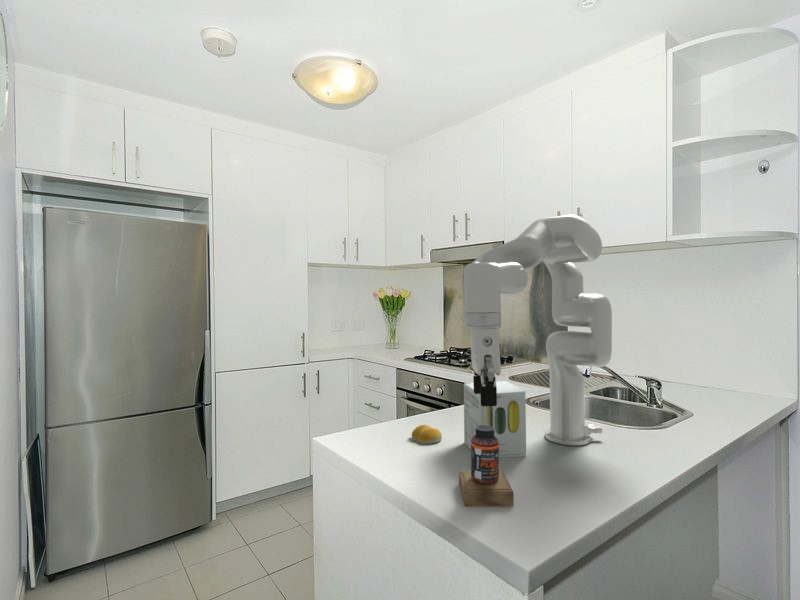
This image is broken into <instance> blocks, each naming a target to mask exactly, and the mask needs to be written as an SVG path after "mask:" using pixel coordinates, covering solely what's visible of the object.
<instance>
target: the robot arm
mask: <svg viewBox="0 0 800 600" xmlns="http://www.w3.org/2000/svg"><path fill="white" fill-rule="evenodd" d="M602 250H603V242H602V239H601V237H600V234H599V233H598V231H596V229H595V228H593V226H592V225H591V224H589V223H588V222H587V221H586V220H585V219H583V218H582V217H580V216H578V215H575V214H567V215H559V216H550V217H543V218H542V217H541V218H540V219H539V218H538V219H536V220H534V221H533V222H532V223H530V225H529V226H528V227H527V228H526V229H525V230H523V232H521V233H520V234H519V235H518V236H517V237H516V238H514V239H513V240H509V241H507V242H505V243H503V244H501V245H498V246H497V247H494V248H492V249H488V251H485V252H484V253H482V254H480V256H478V257H476V258H475V259H474V260H473V261H472V262H471V263H467V265H466V266H465V267H464V271H463V272H464V273H463V277H464V279H463V281H464V317H465V319H464V320H465V321H464V322H465V326H464V327H465V328H466V329H470V356H471V357H470V358H471V367H472V369H473V382H472V383H474V393H475V394H481V406H496V405H497V387H496V382H497V379H496V375H497V376H500V375H501V373H502V367H501V351H500V350H501V349H500V336H499V331H498V329H499V328H502V316H501V315H502V309H501V308H502V307H501V306H502V304H501V296H515V295H519V294H521V293H522V292H524V290H525V288H526V287H527V285H528V282H529V277H528V276H529V275H528V273H527V270H530V269H533V268H535V267H538V266H539V265H540V264H541V262H543V263H544V266H545V267H546V268H547V270H548V272H549V274H550V277H551V278H550V279H551V285H552V286H551V287H552V289H551V314H552V321H553V322H554V323H555V324H556V325H558V326H562V327H569V328H570V327H571V328H572V327H573V328H589V329H590V331H591V332H588V331H587V332H586V331H572V330H571V331H570V330H559V331H554V332H552V333H551V334H549V335H548V336H547V338H546V342H545V351H546V355H547V360H548V368H549V428H548V429H546V430H545V431H544V437H545V439H546V440H548V441H550V442H552V443H554V444H559V445H564V446H573V447H575V446H578V447H579V446H585V445H588V444H589V443H591V441H592V440H591V439H592V437H591V435H592V434H602V433H603V428H602V426H594V424H587V423H586V419H585V418H586V412H585V411H586V409H585V408H586V406H585V403H586V401H585V400H586V399H585V398H586V397H585V393H586V392H585V391H586V390H585V389H586V388H585V385H586V384H585V383H586V382H585V378H584V375H583V373H582V371H581V370H580V368H579V367H578V366H583V367H593V368H603V367H606V366H607V365H609V363H610V361H611V358H612V352H613V351H612V349H613V347H612V346H613V345H612V343H613V341H612V339H613V337H612V336H613V313H612V311H613V310H612V306H611V305H612V304H611V302H610V300H609V298H608V297H607V296H606V295H604V294H599V293H585V292H584V276H583V273H582V272H581V271H580V269H579V268H578V267H577V265H576V263H587V262H593V261H596V260H597V259H598V258H599V257H600V256H601V254H602Z"/></svg>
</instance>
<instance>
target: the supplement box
mask: <svg viewBox="0 0 800 600" xmlns="http://www.w3.org/2000/svg"><path fill="white" fill-rule="evenodd" d="M496 387H497V405H496V406H481V394H475V393H474V382H470V383H463V438H464V439H463V442H464V444H465V445H466V446H467V447H468V448H469V450H471V439H472V437H473V436H475V434H476V433H475V432H476V427H477V426H479V425H488V426H492V427H493V428H494V436H495V437H496V438H497V439H498V441H499V459H504V458H505V459H507V458H519V457H526V456H527V423H526V422H527V418H526V417H527V413H526V412H527V410H526V401H527V400H526V399H527V398H526V390H524V389H522V388H520V387H518V386H516V385H514V384H513V383H510V382H508V381H506V380H503V381H496Z"/></svg>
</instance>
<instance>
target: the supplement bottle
mask: <svg viewBox="0 0 800 600" xmlns="http://www.w3.org/2000/svg"><path fill="white" fill-rule="evenodd" d="M475 433H476V434H475V436H473V437H472V439H471V449H470V471H471V477H472V479H473V480H474V481H476V482H478V483H481V484H493V483H495V482H497V481H498V479H499V471H500V458H499V441H498V439H497V438H496V437H495V436H494V428H493V427H492V426H488V425H479V426H477V427H476V432H475Z"/></svg>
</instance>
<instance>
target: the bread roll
mask: <svg viewBox="0 0 800 600" xmlns="http://www.w3.org/2000/svg"><path fill="white" fill-rule="evenodd" d="M442 436H443V434H442V432H441V431H440V429H437V428H433V427H431V426H430V425H426V424H422V425H418V426H417V427H415V428H414V429H413V430H412V432H411V437H412V439H413V440H414V441H416V442H417V441H418V443H420V444H422V443H423V444H422V445H432V444H431V443H435V444H438V443H440V442H441V441H442V439H443V437H442ZM439 441H440V442H439Z"/></svg>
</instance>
